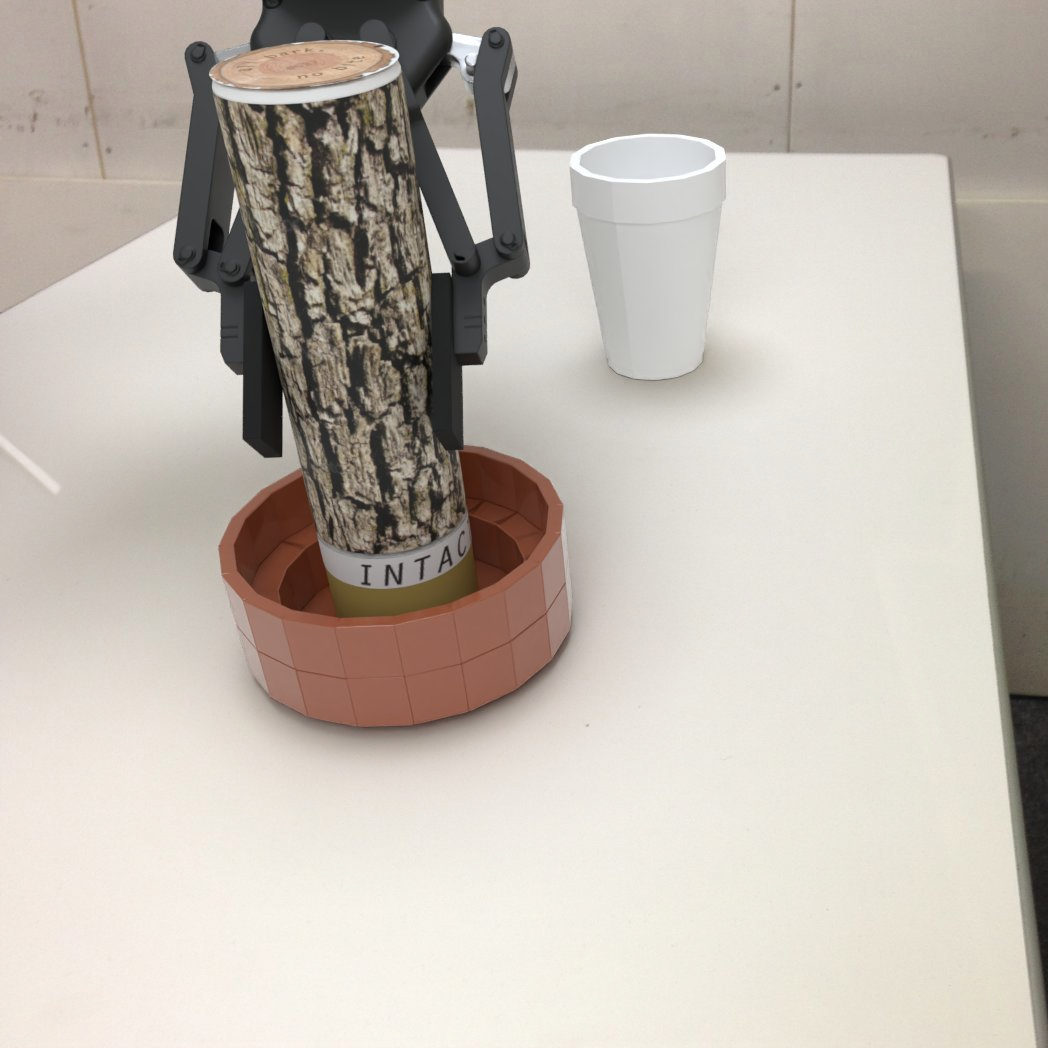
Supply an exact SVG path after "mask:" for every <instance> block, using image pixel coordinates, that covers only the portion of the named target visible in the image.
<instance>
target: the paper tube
mask: <svg viewBox="0 0 1048 1048" xmlns="http://www.w3.org/2000/svg"><path fill="white" fill-rule="evenodd" d="M398 58H399V53H398V52H397V51H396V50H395V49H394V48H392V47H389V46H387V45H383V44H379V43H373V42H365V41H351V40H329V41H311V42H300V43H292V44H284V45H278V46H272V47H267V48H262V49H258V50H253V51H249V52H246V53H242V54H239V55H236V56H233V57H231V58H228V59H226V60H224V61H222V62H220V63H218V64H216V65H215V66H214V67H213V68H212V69H211V70H210V72H209V76H210V78H211V79H213V81H212V93H213V97H214V101H215V105H216V110H217V114H218V118H219V122H220V126H221V131H222V135H223V139H224V143H225V148H226V152H227V156H228V160H229V165H230V169H231V173H232V177H233V182H234V186H235V190H234V191H235V194H236V198H237V203H238V208H239V207H240V211H241V215H242V220H243V224H244V228H245V232H246V237H247V241H248V245H249V249H250V254H251V258H252V262H253V266H254V270H255V275H256V279H257V283H258V287H259V292H260V296H261V300H262V304H263V309H264V313H265V317H266V321H267V325H268V330H269V334H270V338H271V342H272V347H273V351H274V355H275V359H276V364H277V368H278V372H279V376H280V381H281V385H282V389H283V398H284V401H285V406H286V410H287V414H288V418H289V422H290V426H291V431H292V435H293V439H294V444H295V449H296V453H297V456H298V461H299V465H300V468H301V469H302V474H303V478H304V482H305V486H306V491H307V495H308V499H309V503H310V508H311V512H312V516H313V520H314V525H315V528H316V533H317V537H318V541H319V546H320V550H321V554H322V558H323V562H324V565H325V569H326V573H327V577H328V581H329V586H330V590H331V594H332V598H333V603H334V607H335V611H336V615H337V617H338V618H351V617H379V616H396V615H401V614H405V613H410V612H414V611H419V610H423V609H428V608H432V607H437V606H442V605H446V604H449V603H451V602H454V601H456V600H458V599H461V598H463V597H465V596H468V595H470V594H472V593H475V592H477V591H479V589H478V582H477V575H476V568H475V562H474V555H473V548H472V541H471V531H470V524H469V518H468V511H467V505H466V497H465V491H464V484H463V477H462V470H461V464H460V457H459V450H449V451H445V449H444V448H443V446H442V445H441V443H440V441H439V440H438V438H437V437H436V435H435V434H434V432H433V399H432V315H431V273H433V269H432V261H431V255H430V248H429V242H428V235H427V229H426V222H425V216H424V215H425V214H424V209H423V202H422V195H421V194H422V193H421V189H420V187H419V181H418V174H417V167H416V161H415V154H414V147H413V140H412V134H411V127H410V120H409V113H408V107H407V100H406V93H405V86H404V80H403V73H402V68H401V66H400V64H399V62H398Z"/></svg>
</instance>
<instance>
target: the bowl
mask: <svg viewBox="0 0 1048 1048" xmlns="http://www.w3.org/2000/svg"><path fill="white" fill-rule="evenodd" d="M463 445H464V450H459V457H460V464H461V470H462V477H463V484H464V491H465V497H466V505H467V511H468V518H469V524H470V531H471V541H472V548H473V555H474V562H475V568H476V575H477V582H478V589H479V591H477V592H475V593H472V594H470V595H468V596H465V597H463V598H461V599H458V600H456V601H454V602H451V603H449V604H446V605H442V606H437V607H432V608H428V609H423V610H419V611H414V612H410V613H405V614H401V615H396V616H379V617H351V618H338V617H337V615H336V611H335V607H334V603H333V598H332V594H331V590H330V586H329V581H328V577H327V573H326V569H325V565H324V562H323V558H322V554H321V550H320V546H319V541H318V537H317V533H316V528H315V525H314V520H313V516H312V512H311V508H310V503H309V499H308V495H307V491H306V486H305V482H304V478H303V474H302V469H301V467H300V468H298V469H296V470H294V471H292V472H290V473H289V474H287V475H285V476H283V477H282V478H280V479H278V480H276V481H274V482H272V483H271V484H269V485H267V486H266V487H264V488H262V489H261V490H260V491H258V492H257V493H256V494H255V495H254V496H253V497H252V498H251V499H250V500H249V501H248V502H246V503H245V505H244V506H243V507H241V508H240V509H239V510H238V511H237V512H236V513H235V514H234V515H233V516H232V517H230V520H229V523H228V525H227V526H226V529H225V531H224V533H223V535H222V537H221V539H220V541H219V544H218V546H217V547H218V548H217V549H218V557H219V566H220V576H221V578H222V579H221V580H222V582H223V585H224V588H225V589H224V590H225V592H226V595H227V599H228V602H229V603H228V604H229V605H230V608H231V613H232V616H233V619H234V623H235V626H236V629H237V632H238V637H239V640H240V643H241V646H242V650H243V653H244V657H245V661H246V663H247V666H248V669H249V672H250V673H251V674H252V676H253V677H254V678H255V680H256V681H257V682H258V684H260V687H262V688H263V690H264V691H265V692H266V694H267V695H268V696H269V698H271V699H273V700H274V701H276V702H278V703H280V704H283V705H284V706H286V707H288V708H290V709H292V710H294V712H298V713H299V714H301V715H303V716H305V717H307V718H311V719H316V720H320V721H326V722H332V723H337V724H342V725H347V726H353V727H358V728H371V727H401V726H414V725H420V724H424V723H428V722H432V721H436V720H441V719H445V718H448V717H449V718H450V717H453V716H458V715H462V714H465V713H469V712H471V711H474V710H476V709H478V708H480V707H482V706H484V705H486V704H489V703H491V702H493V701H495V700H497V699H499V698H501V697H504V696H505V695H507V694H510V693H512V692H514V691H516V690H517V689H519V688H520V687H521V686H523V685H524V684H525V683H526V682H527V681H529V679H531V678H532V677H534V675H536V674H537V673H538V672H539V671H540V670H542V669H543V668H544V667H545V666H546V665H548V664H549V663H550V662H551V661H552V660H553V659H554V657H555V655H556V654H557V652H558V650H559V649H560V647H561V645H562V643H563V642H564V640H565V638H566V637H567V635H568V633H570V629H571V624H572V611H573V591H572V581H571V569H570V561H569V560H570V559H569V549H568V539H567V529H566V528H567V526H566V517H565V506H564V504H563V501H562V500H561V497H560V496H559V494H558V492H557V491H556V488H555V486H554V485H553V483H552V481H551V480H550V479H549V477H547V476H545V475H544V474H543V473H541V472H540V471H538V470H537V469H535V468H534V467H533V466H531V465H530V464H528V462H525V461H524V460H522V459H520V458H517V457H514V456H511V455H508V454H505V453H502V452H499V451H497V450H493V449H491V448H488V447H485V446H477V445H471V444H470V445H469V444H463Z"/></svg>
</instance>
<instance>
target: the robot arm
mask: <svg viewBox="0 0 1048 1048" xmlns="http://www.w3.org/2000/svg"><path fill="white" fill-rule="evenodd" d="M261 2H262V3H261V6H262V7H261V12H260V13H261V14H260V17H259V19H258V21H257V24H256V25H255V26H254V29H253V30H252V32H251V34H250V38H249V42H246V43H243V44H239V45H235V46H232V47H229V48H224V49H222V50H218V51H214V49H213V48H212V46H211V45H210V44H209V43H208V42H205V41H202V40H200V41H193V42H192V43H190V44H188V45H187V47H186V48H185V51H184V55H183V56H184V62H185V65H186V69H187V74H188V78H189V81H190V85H191V90H192V94H193V97H192V103H191V111H190V120H189V127H188V133H187V143H186V149H185V150H186V151H185V158H184V166H183V173H182V179H181V187H180V194H179V195H180V196H179V203H178V211H177V220H176V227H175V234H174V242H173V248H172V259H173V261H174V263H175V265H176V266H177V267H178V268H179V270H181V271H182V272H183V273H184V274H185V276H187V278H188V279H189V280H190V281H191V282H192V283H193V284H194V285H195V286H196V287H197V289H198V290H200V291H201V292H204V293H213V292H216V293H218V294H220V315H219V316H220V318H219V319H220V321H219V322H220V323H219V328H220V329H219V334H220V335H219V337H220V339H219V342H220V343H219V353H220V355H221V357H222V360H223V363H224V364H225V366H227V367H228V368H229V369H230V370H231V371H232V372H233V373H234V374H235V375H236V376H242V432H241V433H242V434H241V435H242V440H243V442H245V443H246V444H247V445H249V447H250V448H252V449H253V450H254V451H256V453H258V454H259V455H260V456H261V457H262V458H264V459H275V458H278V459H280V458H283V455H284V454H283V452H284V451H283V446H284V445H283V443H284V439H283V437H284V436H283V434H284V426H283V425H284V422H283V421H284V420H283V419H284V415H283V414H284V393H283V389H282V385H281V381H280V376H279V372H278V368H277V364H276V359H275V355H274V351H273V347H272V342H271V338H270V334H269V330H268V325H267V321H266V317H265V313H264V309H263V304H262V300H261V296H260V292H259V287H258V283H257V279H256V275H255V270H254V266H253V262H252V258H251V254H250V249H249V245H248V241H247V237H246V232H245V228H244V224H243V220H242V215H241V211H240V207H239V206H238V209H237V212H236V215H235V218H234V220H233V223H232V222H231V220H232V213H233V205H234V197H235V191H236V190H235V186H234V182H233V177H232V173H231V169H230V165H229V160H228V156H227V152H226V148H225V143H224V139H223V135H222V131H221V126H220V122H219V118H218V114H217V110H216V105H215V101H214V97H213V93H212V81H213V79H211V78H210V76H209V72H210V70H211V69H212V68H213V67H214V66H215V65H216V64H218V63H220V62H222V61H224V60H226V59H228V58H231V57H233V56H236V55H239V54H242V53H246V52H249V51H253V50H258V49H262V48H267V47H272V46H278V45H284V44H292V43H300V42H311V41H329V40H351V41H365V42H373V43H379V44H383V45H387V46H389V47H392V48H394V49H395V50H396V51H397V52H398V53H399V58H398V62H399V64H400V66H401V68H402V73H403V80H404V86H405V93H406V100H407V107H408V113H409V120H410V127H411V134H412V140H413V147H414V154H415V161H416V167H417V174H418V181H419V188H420V193H421V194H422V196H423V199H424V201H425V205H426V207H427V209H428V212H429V214H430V216H431V219H432V221H433V224H434V226H435V229H436V232H437V234H438V236H439V239H440V242H441V244H442V246H443V249H444V251H445V254H446V256H447V259H448V261H449V263H450V266H451V272H450V271H449V272H432V273H431V315H432V399H433V432H434V434H435V435H436V437H437V438H438V440H439V441H440V443H441V445H442V446H443V448H444V449H445V451H449V450H464V445H465V444H464V389H463V388H464V387H463V385H464V384H463V367H466V366H483V365H484V363H485V361H486V358H487V355H488V351H489V350H488V347H489V346H488V298H487V297H488V294H489V291H490V290H491V288H492V287H493V286H494V285H495V284H497V283H498V282H501V281H504V280H506V279H508V278H509V279H513V280H519V279H522V278H524V277H525V276H527V275H528V273H529V271H530V269H531V260H530V251H529V245H528V238H527V237H528V236H527V231H526V224H525V223H526V222H525V216H524V209H523V200H522V194H521V187H520V180H519V173H518V165H517V159H516V150H515V144H514V138H513V137H514V135H513V129H512V123H511V122H512V121H511V114H510V112H511V111H510V110H511V108H512V101H513V98H514V94H515V90H516V85H517V82H518V81H517V80H518V77H519V69H518V66H517V60H516V56H515V53H514V49H513V43H512V39H511V35H510V33H509V31H508V30H506V29H505V28H503V27H501V26H493V27H490V28H488V29H486V30H485V31H484V32H483V34H482V36H480V37H479V36H474V35H469V34H463V33H455V32H453V30H452V27H451V24H450V23H449V21H448V19H447V17H446V16H445V3H444V2H445V0H261ZM452 68H455V69H457V70H458V71H459V72H460V76H461V80H462V82H463V86H464V88H465V90H466V91H467V92H468V93H469V94H470V95H473V101H474V109H475V115H476V122H477V130H478V136H479V137H478V139H479V145H480V152H481V159H482V167H483V172H484V173H483V174H484V181H485V190H486V195H487V203H488V210H489V211H488V212H489V219H490V225H491V235H492V237H490V238H487V239H485V240H482V241H479V242H477V243H475V241H474V239H473V236H472V233H471V230H470V228H469V227H468V224H467V220H466V219H465V216H464V214H463V212H462V208H461V205H460V203H459V201H458V198H457V197H456V194H455V192H454V190H453V187H452V185H451V182H450V179H449V177H448V175H447V172H446V170H445V167H444V165H443V162H442V159H441V157H440V155H439V152H438V149H437V148H436V145H435V141H434V140H433V137H432V135H431V132H430V130H429V127H428V126H427V123H426V121H425V118H424V115H423V112H422V109H423V108H424V107H425V105H426V104H427V103H428V101H429V100H430V98H431V97H432V96H433V95H434V93H435V91H437V89H438V87H440V85H441V84H442V82H443V81H444V80H445V78H446V77H447V75H448V74H449V72H450V71H451V70H452ZM231 223H232V225H231Z"/></svg>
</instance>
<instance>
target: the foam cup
mask: <svg viewBox="0 0 1048 1048" xmlns="http://www.w3.org/2000/svg"><path fill="white" fill-rule="evenodd" d="M725 151H726V150H725V148H724V147H722V146H721V145H719V144H717V143H715V142H713V141H711V140H709V139H707V138H702V137H701V138H700V137H696V136H691V135H685V134H680V133H679V134H676V133H675V134H673V133H642V134H632V135H624V136H615V137H611V138H608V139H604V140H600V141H597V142H593V143H589V144H586V145H585V146H583V147H582V148H580V149H578V150H577V151H575V152H574V153H572V154H571V155H570V159H569V161H570V162H569V167H568V168H569V177H570V179H569V181H570V192H571V205H572V207H573V208H575V209H576V214H577V219H578V225H579V228H580V234H581V239H582V243H583V248H584V249H583V250H584V253H585V258H586V263H587V268H588V273H589V279H590V284H591V288H592V294H593V298H594V303H595V308H596V314H597V317H598V322H599V329H600V332H601V337H602V342H603V348H604V353H605V356H606V358H607V365H608V367H610V368H611V369H612V370H613V371H614V372H615V373H616V374H618V375H621V376H623V377H628V378H631V379H633V380H646V381H647V380H648V381H660V380H667V379H675V378H679V377H681V376H683V375H687V374H689V373H691V372H694V371H695V370H696V369H697V368H698V367H699V366H700V365H701V364H702V363H703V361H704V360H703V359H704V357H703V356H704V355H703V354H704V353H705V347H706V341H707V340H706V339H707V332H708V323H709V314H710V307H711V299H712V298H711V297H712V289H713V281H714V274H715V265H716V257H717V250H718V240H719V234H720V226H721V225H720V224H721V218H722V217H721V216H722V210H723V209H722V207H723V202H725V200H727V157H726V152H725Z"/></svg>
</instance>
